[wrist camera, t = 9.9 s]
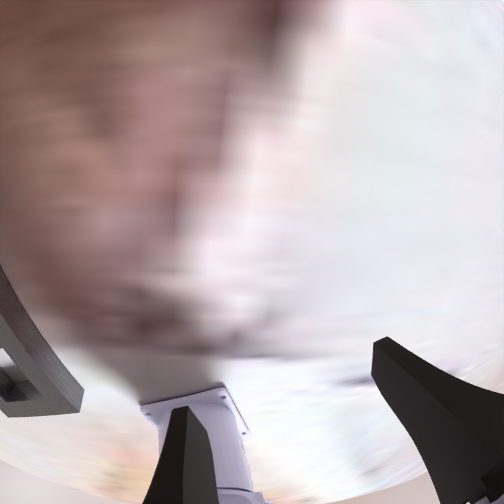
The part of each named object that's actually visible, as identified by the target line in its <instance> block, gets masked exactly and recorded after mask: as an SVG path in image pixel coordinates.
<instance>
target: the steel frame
mask: <svg viewBox="0 0 504 504" xmlns="http://www.w3.org/2000/svg"><path fill="white" fill-rule="evenodd" d="M1 348H3V349H4V350H5V351H6V353H7V354H8V355H9V357H10V358H11V359H12V360H13V362H14V363H15V364H16V365H17V367H18V368H19V369H20V370H21V372H22V373H23V374H24V375H25V376H26V378H27V379H28V380H29V381H25V382H19V383H13V382H12V381H11V379H10V378H9V377H8V376H7V375H6V373H5V372H4V371H3V370H2V369H1V367H0V410H1V411H2V412H3V413H4V414H5V415H6V416H7V417H33V416H48V415H60V414H70V413H79V412H80V408H81V403H82V399H83V394H84V389H83V388H82V387H81V386H80V385H79V384H78V382H77V381H76V380H75V379H74V378H73V376H72V375H71V374H70V373H69V372H68V370H67V369H66V368H65V367H64V365H63V364H62V363H61V361H60V360H59V359H58V358H57V356H56V355H55V354H54V352H53V351H52V350H51V348H50V347H49V345H48V344H47V343H46V341H45V340H44V338H43V337H42V335H41V334H40V333H39V331H38V330H37V328H36V327H35V325H34V324H33V322H32V321H31V319H30V317H29V316H28V314H27V313H26V311H25V310H24V308H23V306H22V305H21V303H20V301H19V300H18V298H17V296H16V295H15V293H14V291H13V289H12V287H11V286H10V284H9V282H8V280H7V278H6V276H5V275H4V273H3V271H2V269H1V267H0V349H1Z"/></svg>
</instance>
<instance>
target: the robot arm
mask: <svg viewBox="0 0 504 504" xmlns="http://www.w3.org/2000/svg"><path fill="white" fill-rule="evenodd" d="M371 375H372V377H373V379H374V381H375V383H376V385H377V387H378V389H379V391H380V392H381V394H382V396H383V397H384V399H385V400H386V402H387V403H388V405H389V406H390V407H391V409H392V410H393V412H394V413H395V415H396V416H397V417H398V419H399V420H400V422H401V423H402V424H403V426H404V427H405V429H406V430H407V432H408V433H409V435H410V436H411V438H412V440H413V441H414V443H415V445H416V447H417V449H418V451H419V453H420V455H421V457H422V459H423V461H424V463H425V465H426V468H427V470H428V472H429V474H430V476H431V479H432V482H433V484H434V486H435V489H436V492H437V495H438V498H439V501H440V504H466V503H467V502H469V503H470V504H504V394H501V393H497V392H493V391H490V390H486V389H483V388H480V387H478V386H475V385H472V384H470V383H467V382H465V381H463V380H461V379H458V378H456V377H454V376H452V375H450V374H448V373H446V372H444V371H442V370H441V369H439V368H437V367H435V366H433V365H432V364H430V363H428V362H427V361H425V360H423V359H422V358H420V357H418V356H417V355H415V354H414V353H412V352H410V351H409V350H407V349H406V348H404V347H403V346H401V345H400V344H398V343H397V342H395V341H394V340H392V339H391V338H389V337H385V338H382V339H380V340H378V341H376V342H374V343H373V359H372V371H371ZM140 411H141V412H142V413H143V415H144V416H145V417H146V418H147V419H148V420H149V421H150V422H151V423H152V424H153V425H154V427H155V428H156V429H157V430H158V432H159V461H158V464H157V467H156V470H155V473H154V476H153V479H152V482H151V484H150V487H149V489H148V492H147V494H146V497H145V499H144V501H143V503H142V504H274V503H272V502H270V501H264V498H263V495H262V493H261V492H257V493H254V491H253V480H252V477H251V473H250V469H249V465H248V461H247V457H246V453H245V449H244V445H243V441H242V440H246V439H249V438H250V437H251V434H250V432H249V430H248V428H247V427H246V425H245V423H244V421H243V419H242V418H241V416H240V414H239V412H238V410H237V408H236V407H235V405H234V403H233V401H232V399H231V397H230V395H229V393H228V391H227V390H226V389H225V388H217V389H213V390H209V391H205V392H201V393H197V394H193V395H189V396H185V397H181V398H176V399H172V400H167V401H162V402H157V403H152V404H147V405H143V406H141V409H140Z"/></svg>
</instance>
